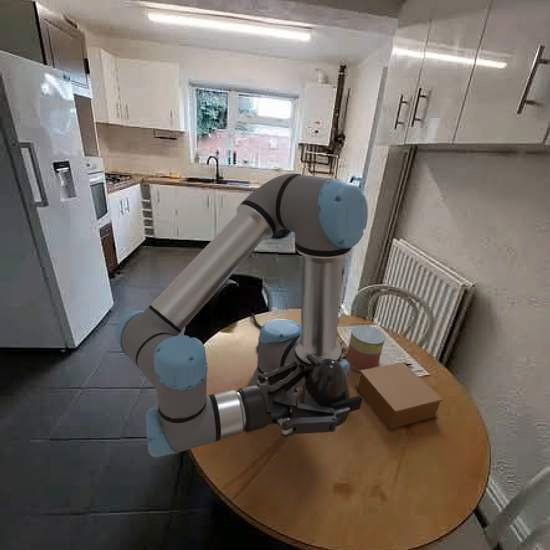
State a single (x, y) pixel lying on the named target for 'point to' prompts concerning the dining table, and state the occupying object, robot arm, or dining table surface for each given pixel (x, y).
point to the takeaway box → (398, 394)
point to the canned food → (365, 347)
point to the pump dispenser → (325, 385)
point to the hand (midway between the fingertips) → (345, 384)
